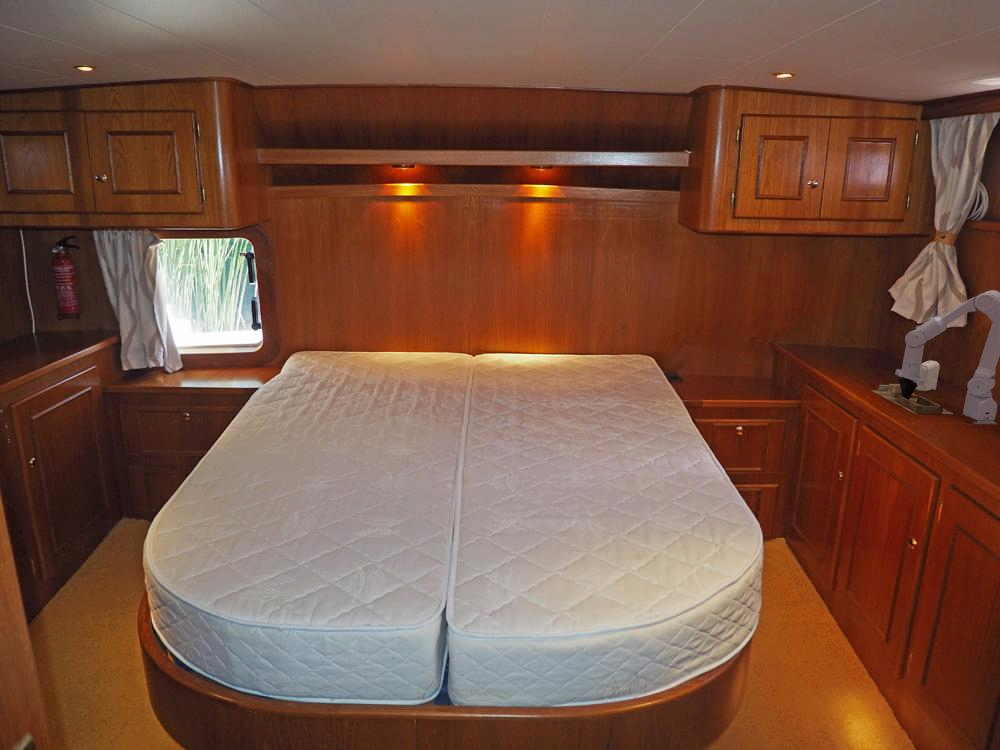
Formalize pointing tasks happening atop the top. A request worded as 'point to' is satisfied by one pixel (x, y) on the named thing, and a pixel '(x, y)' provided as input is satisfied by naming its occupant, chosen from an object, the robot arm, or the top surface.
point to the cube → (894, 390)
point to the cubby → (927, 406)
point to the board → (884, 393)
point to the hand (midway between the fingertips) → (905, 398)
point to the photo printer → (929, 375)
